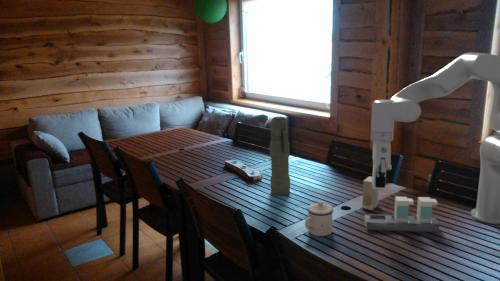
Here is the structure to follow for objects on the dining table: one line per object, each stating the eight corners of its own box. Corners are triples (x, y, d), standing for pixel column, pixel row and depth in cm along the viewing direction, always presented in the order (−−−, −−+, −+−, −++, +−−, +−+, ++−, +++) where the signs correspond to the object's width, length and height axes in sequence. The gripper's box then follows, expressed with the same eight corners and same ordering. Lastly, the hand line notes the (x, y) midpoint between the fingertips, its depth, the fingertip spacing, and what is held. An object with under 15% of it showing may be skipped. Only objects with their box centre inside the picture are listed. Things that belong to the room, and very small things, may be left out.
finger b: (410, 219, 149) (411, 196, 147) (413, 225, 145) (414, 202, 142) (393, 218, 150) (395, 196, 148) (396, 224, 146) (397, 201, 143)
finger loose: (388, 185, 147) (389, 162, 145) (390, 190, 142) (392, 166, 140) (371, 185, 148) (373, 161, 146) (373, 190, 143) (375, 166, 141)
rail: (433, 223, 150) (433, 215, 149) (439, 232, 143) (439, 224, 142) (364, 221, 154) (364, 214, 153) (366, 229, 147) (366, 222, 146)
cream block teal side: (432, 220, 148) (434, 197, 146) (436, 226, 143) (438, 202, 141) (416, 219, 149) (417, 197, 147) (419, 225, 144) (421, 202, 142)
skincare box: (368, 203, 170) (369, 175, 167) (378, 205, 167) (379, 177, 164) (361, 208, 165) (362, 180, 162) (372, 210, 162) (373, 182, 159)
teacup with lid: (319, 223, 154) (319, 194, 151) (338, 231, 147) (338, 201, 144) (296, 233, 147) (296, 203, 144) (315, 242, 140) (315, 211, 137)
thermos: (280, 198, 178) (279, 121, 169) (265, 190, 188) (263, 117, 179) (296, 193, 183) (295, 118, 174) (280, 186, 192) (278, 114, 183)
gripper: (398, 141, 132) (394, 193, 136) (388, 129, 148) (385, 176, 153) (374, 141, 133) (371, 192, 137) (367, 129, 149) (365, 176, 154)
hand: (378, 183), depth 145 cm, fingers closed on finger loose, 4 cm apart
